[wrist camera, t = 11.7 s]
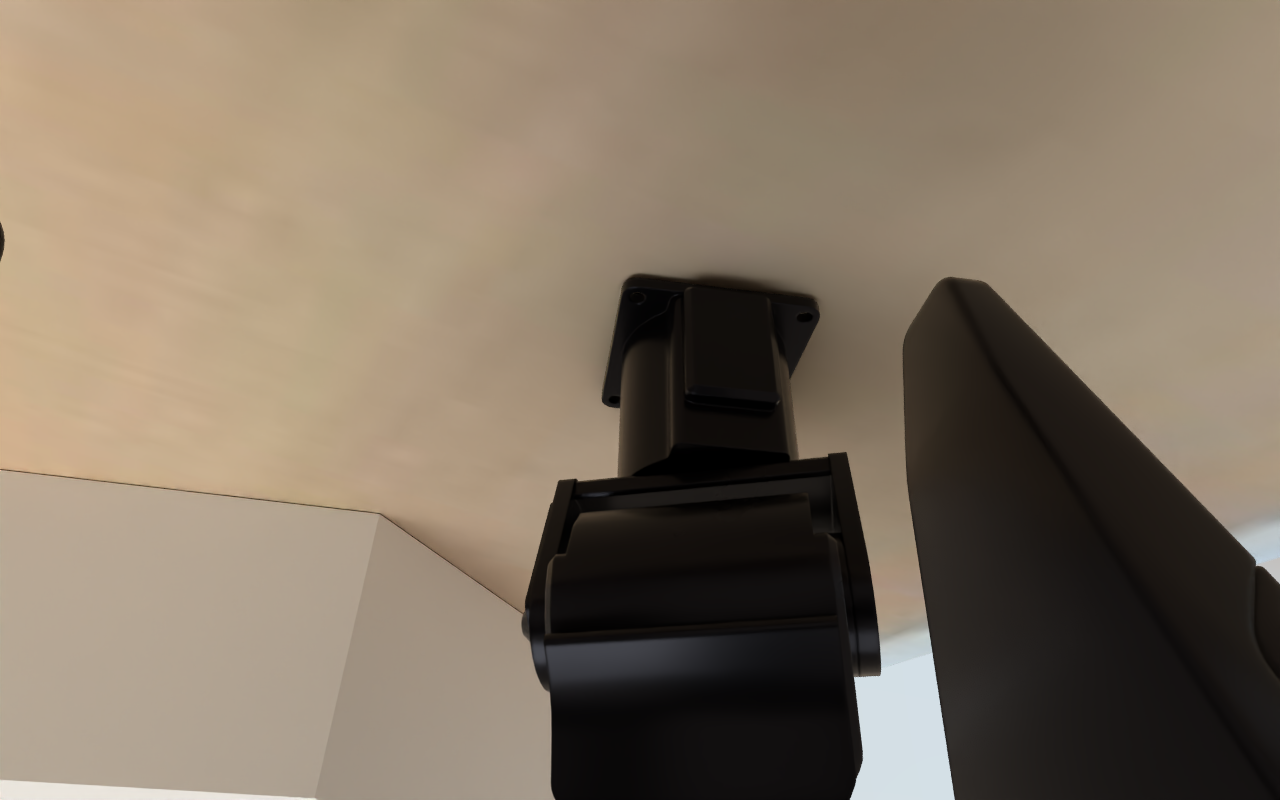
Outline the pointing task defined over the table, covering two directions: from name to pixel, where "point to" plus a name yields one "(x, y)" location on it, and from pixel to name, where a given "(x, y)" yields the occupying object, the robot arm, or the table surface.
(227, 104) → the table surface
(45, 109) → the table surface
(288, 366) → the table surface
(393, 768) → the block
